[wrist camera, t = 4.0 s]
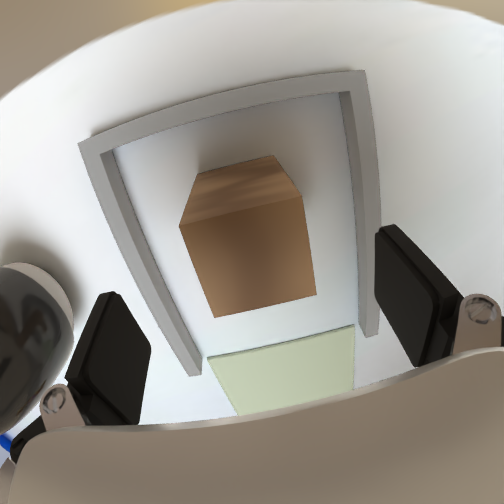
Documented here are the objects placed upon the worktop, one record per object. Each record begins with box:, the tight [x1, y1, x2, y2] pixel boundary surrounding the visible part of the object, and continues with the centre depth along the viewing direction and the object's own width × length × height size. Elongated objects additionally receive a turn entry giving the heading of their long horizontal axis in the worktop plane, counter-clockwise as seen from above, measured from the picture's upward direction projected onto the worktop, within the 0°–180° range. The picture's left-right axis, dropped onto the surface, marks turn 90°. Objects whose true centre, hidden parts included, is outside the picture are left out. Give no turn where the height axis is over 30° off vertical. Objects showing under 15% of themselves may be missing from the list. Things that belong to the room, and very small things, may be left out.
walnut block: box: [179, 155, 317, 318], centre depth 18 cm, size 5×11×8 cm, turn 13°
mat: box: [207, 325, 355, 416], centre depth 30 cm, size 14×12×1 cm
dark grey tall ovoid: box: [0, 262, 74, 435], centre depth 16 cm, size 10×10×15 cm
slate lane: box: [78, 70, 381, 377], centre depth 21 cm, size 17×21×2 cm
